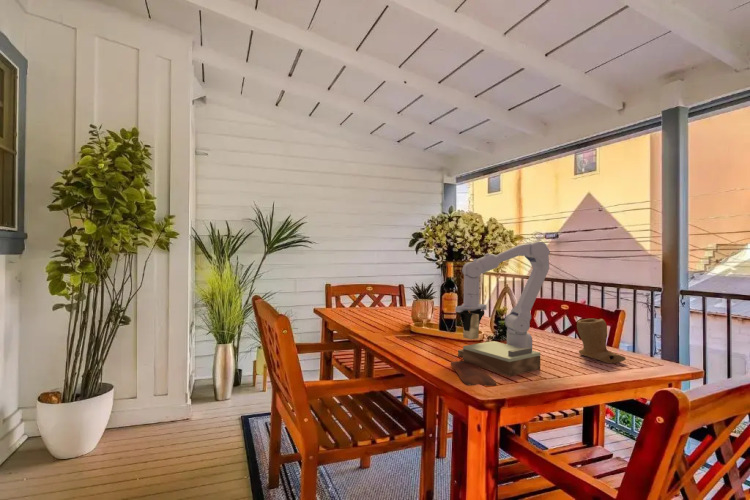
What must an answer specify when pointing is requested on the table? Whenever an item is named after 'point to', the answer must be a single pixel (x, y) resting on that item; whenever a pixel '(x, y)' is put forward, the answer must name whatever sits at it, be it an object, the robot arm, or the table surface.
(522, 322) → the robot arm
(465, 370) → the wooden tablet
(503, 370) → the shallow rectangular box
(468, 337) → the beige tall block
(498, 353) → the lid
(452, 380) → the table surface
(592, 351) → the brown suede boot
